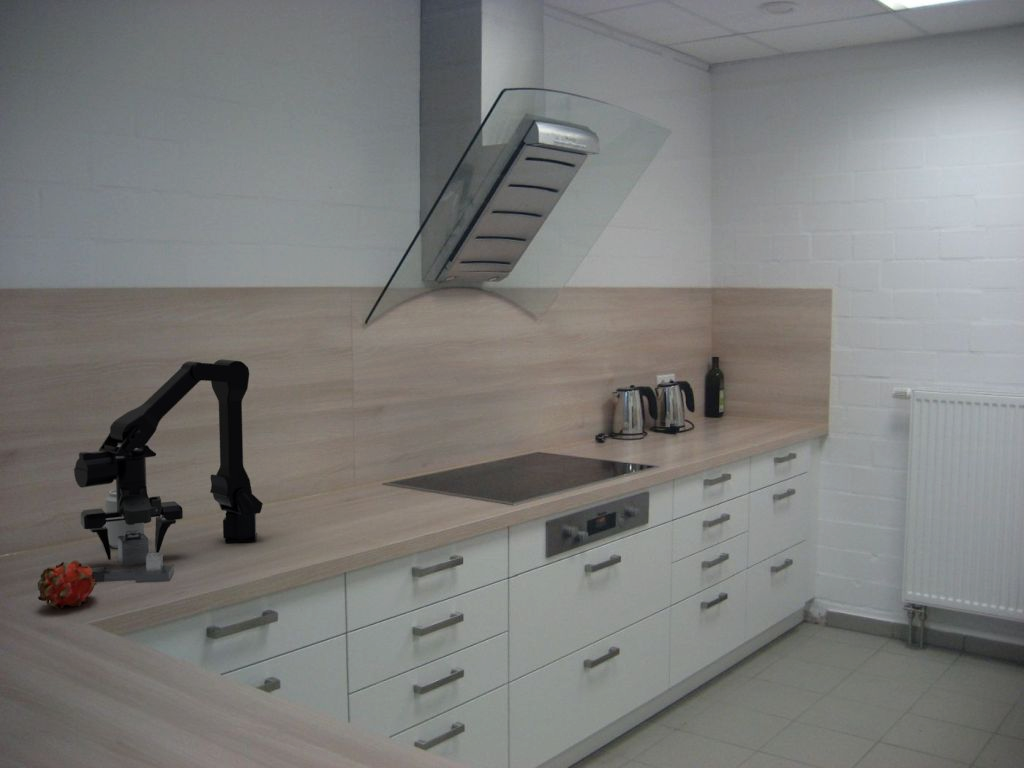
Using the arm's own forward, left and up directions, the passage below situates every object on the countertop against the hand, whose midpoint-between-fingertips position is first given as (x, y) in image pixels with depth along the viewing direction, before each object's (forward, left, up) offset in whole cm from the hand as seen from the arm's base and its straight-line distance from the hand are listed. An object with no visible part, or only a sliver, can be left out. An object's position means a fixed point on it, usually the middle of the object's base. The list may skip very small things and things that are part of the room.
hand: (133, 556), depth 203 cm
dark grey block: (0, 0, -1) cm, 1 cm away
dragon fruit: (+6, +27, -1) cm, 28 cm away
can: (+4, -14, -1) cm, 15 cm away
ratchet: (+1, +12, -1) cm, 12 cm away
